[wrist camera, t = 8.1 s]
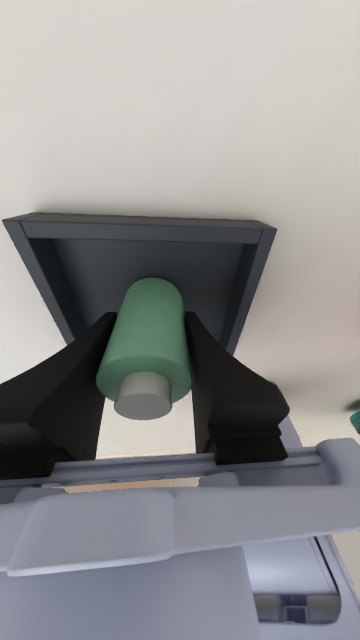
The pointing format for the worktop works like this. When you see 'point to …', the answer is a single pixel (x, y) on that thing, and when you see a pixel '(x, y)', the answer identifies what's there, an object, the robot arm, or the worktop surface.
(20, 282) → the worktop surface
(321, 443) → the robot arm
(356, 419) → the beverage bottle
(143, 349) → the mint green cylinder
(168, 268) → the dark gray rectangular tray
